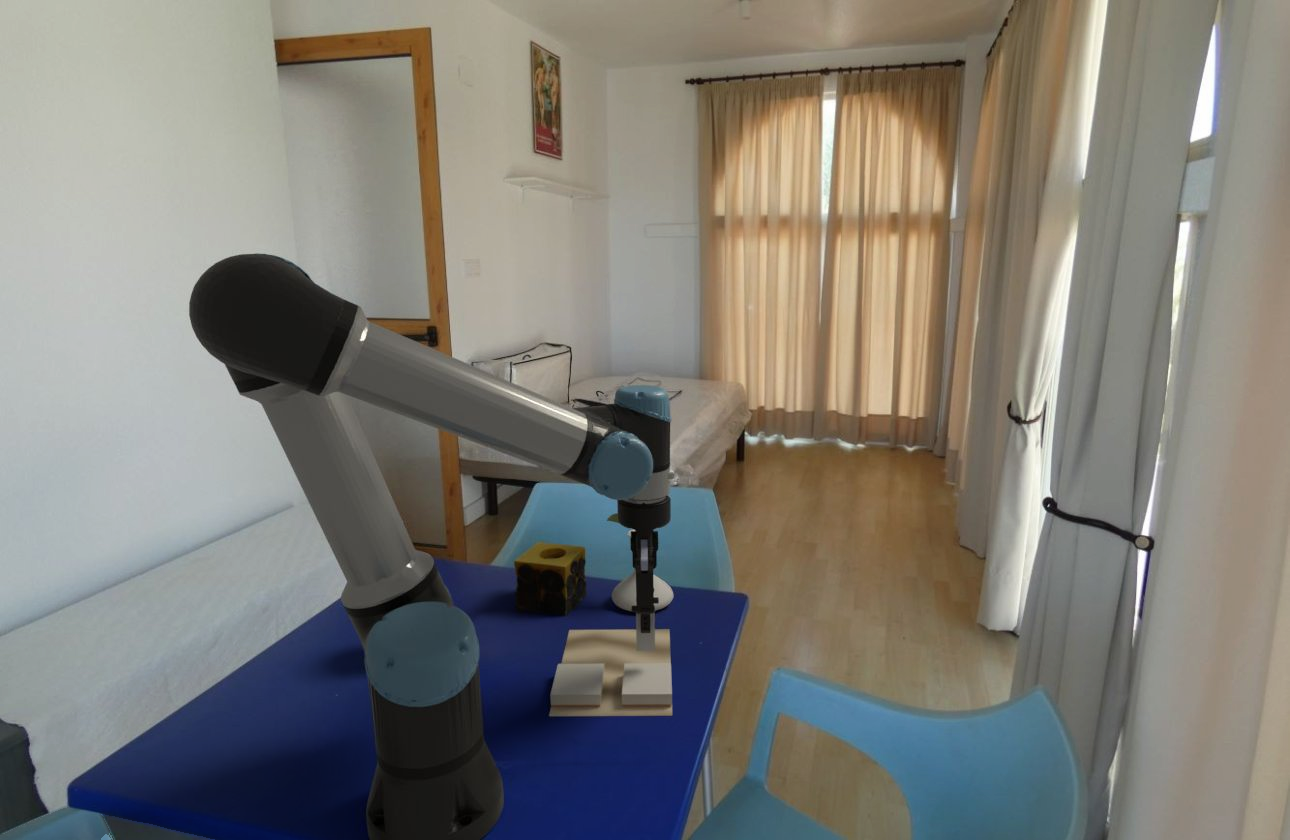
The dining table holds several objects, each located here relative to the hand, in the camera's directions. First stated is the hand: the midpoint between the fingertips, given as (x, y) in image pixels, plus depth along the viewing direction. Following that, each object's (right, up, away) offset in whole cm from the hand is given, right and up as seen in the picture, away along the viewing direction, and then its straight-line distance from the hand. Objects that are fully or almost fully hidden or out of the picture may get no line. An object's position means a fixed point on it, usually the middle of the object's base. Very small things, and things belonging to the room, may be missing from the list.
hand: (645, 648), depth 108 cm
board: (-5, -5, +4) cm, 8 cm away
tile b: (0, -4, +2) cm, 4 cm away
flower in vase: (-1, 0, +27) cm, 27 cm away
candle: (-17, -1, +27) cm, 32 cm away
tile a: (-10, -4, +2) cm, 11 cm away
